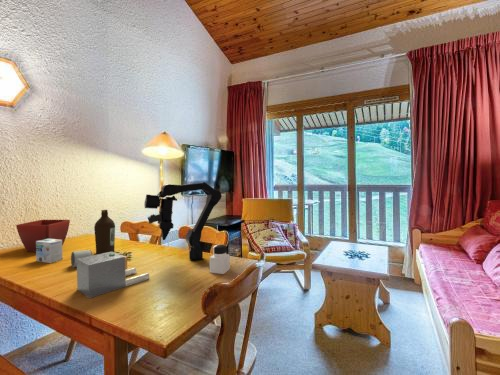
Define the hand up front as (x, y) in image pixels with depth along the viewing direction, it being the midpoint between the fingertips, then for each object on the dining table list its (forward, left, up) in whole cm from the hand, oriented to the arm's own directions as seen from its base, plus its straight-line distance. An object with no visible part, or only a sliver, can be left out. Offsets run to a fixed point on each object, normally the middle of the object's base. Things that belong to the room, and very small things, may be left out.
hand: (163, 240), depth 129 cm
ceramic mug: (+40, -13, -13) cm, 44 cm away
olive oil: (+33, -34, -12) cm, 49 cm away
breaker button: (+21, +20, -7) cm, 30 cm away
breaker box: (+19, +19, -12) cm, 30 cm away
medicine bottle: (-24, +19, -12) cm, 33 cm away
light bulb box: (+58, -27, -13) cm, 65 cm away
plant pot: (+70, -55, -13) cm, 90 cm away
